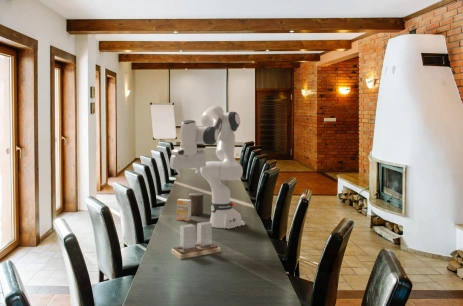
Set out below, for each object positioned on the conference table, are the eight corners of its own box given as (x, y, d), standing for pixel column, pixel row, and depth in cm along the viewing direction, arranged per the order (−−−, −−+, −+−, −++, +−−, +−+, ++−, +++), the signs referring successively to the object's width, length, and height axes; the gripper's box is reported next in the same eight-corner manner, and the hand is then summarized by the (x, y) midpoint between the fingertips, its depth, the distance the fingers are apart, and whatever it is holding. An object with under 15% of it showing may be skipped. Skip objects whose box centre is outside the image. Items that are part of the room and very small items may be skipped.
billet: (190, 247, 216) (191, 224, 215) (194, 250, 213) (194, 225, 212) (179, 249, 213) (180, 225, 212) (183, 252, 210) (183, 227, 209)
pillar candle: (202, 216, 290) (203, 193, 288) (187, 215, 289) (188, 193, 288) (203, 212, 299) (203, 191, 298) (189, 212, 299) (189, 190, 298)
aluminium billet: (207, 244, 222) (207, 221, 220) (211, 247, 218) (211, 223, 217) (197, 246, 218) (197, 223, 217) (200, 249, 215) (201, 225, 214)
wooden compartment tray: (210, 246, 226) (210, 241, 226) (220, 251, 218) (220, 246, 217) (171, 253, 214) (171, 247, 214) (180, 259, 206) (180, 253, 206)
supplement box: (176, 220, 277) (176, 199, 276) (179, 218, 282) (179, 198, 281) (188, 221, 275) (188, 200, 274) (191, 219, 280) (191, 199, 278)
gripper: (202, 149, 242) (202, 174, 244) (168, 150, 231) (168, 176, 233) (208, 150, 237) (207, 176, 239) (173, 151, 226) (173, 178, 228)
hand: (188, 176), depth 236 cm, fingers open, 8 cm apart
